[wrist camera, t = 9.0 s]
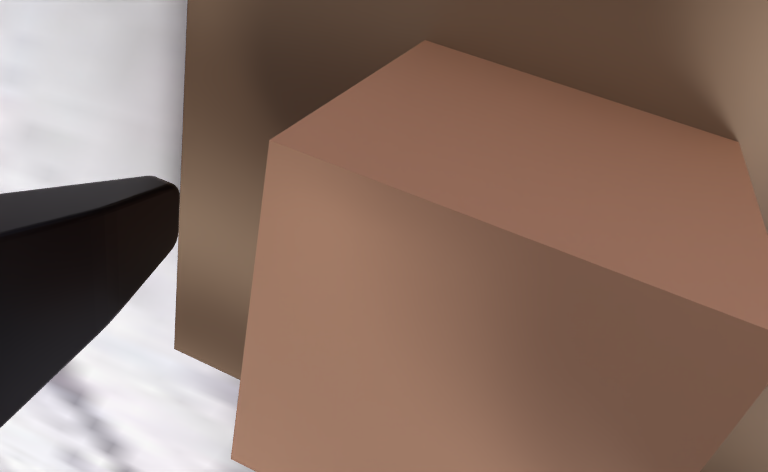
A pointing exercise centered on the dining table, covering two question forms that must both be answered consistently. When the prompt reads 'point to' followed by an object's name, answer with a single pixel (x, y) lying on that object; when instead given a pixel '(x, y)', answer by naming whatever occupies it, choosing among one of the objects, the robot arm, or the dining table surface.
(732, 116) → the walnut base
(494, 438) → the terracotta block
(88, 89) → the dining table surface
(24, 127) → the dining table surface
